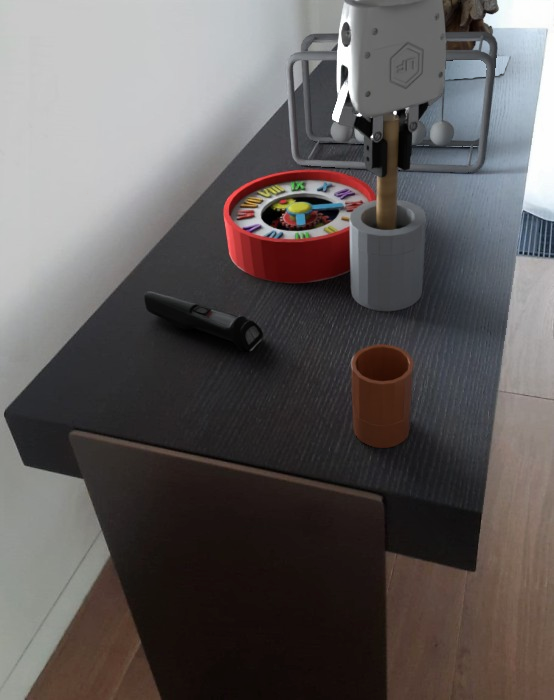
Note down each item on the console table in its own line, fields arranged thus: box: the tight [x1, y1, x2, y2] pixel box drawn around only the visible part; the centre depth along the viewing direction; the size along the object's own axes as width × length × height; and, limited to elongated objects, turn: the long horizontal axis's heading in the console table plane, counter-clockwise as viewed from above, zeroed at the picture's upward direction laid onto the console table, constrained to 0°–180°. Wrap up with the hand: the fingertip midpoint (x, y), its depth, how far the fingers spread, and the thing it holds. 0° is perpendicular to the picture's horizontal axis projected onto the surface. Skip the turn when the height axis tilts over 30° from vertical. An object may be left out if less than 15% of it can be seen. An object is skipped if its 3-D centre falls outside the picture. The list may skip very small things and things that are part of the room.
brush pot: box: [350, 343, 415, 449], centre depth 64 cm, size 5×5×8 cm
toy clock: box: [223, 169, 377, 284], centre depth 93 cm, size 20×6×20 cm
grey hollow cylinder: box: [349, 199, 427, 312], centre depth 81 cm, size 8×8×10 cm
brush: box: [376, 113, 399, 230], centre depth 77 cm, size 3×3×19 cm
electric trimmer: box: [143, 290, 264, 352], centre depth 81 cm, size 4×16×3 cm, turn 58°
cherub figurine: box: [442, 0, 500, 61], centre depth 140 cm, size 18×18×18 cm
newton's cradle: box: [285, 32, 499, 174], centre depth 108 cm, size 30×10×18 cm, turn 74°
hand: (387, 167), depth 75 cm, fingers closed on brush, 2 cm apart
